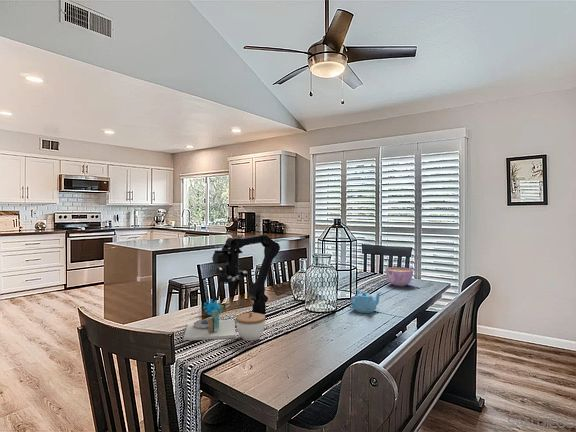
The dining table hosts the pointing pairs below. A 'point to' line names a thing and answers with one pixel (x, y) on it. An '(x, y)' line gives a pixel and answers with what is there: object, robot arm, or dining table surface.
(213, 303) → the gear
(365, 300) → the teapot
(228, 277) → the robot arm
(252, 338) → the lidded bowl
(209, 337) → the clock board
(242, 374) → the dining table surface
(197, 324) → the flange plate
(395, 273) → the bowl of food
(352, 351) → the dining table surface
